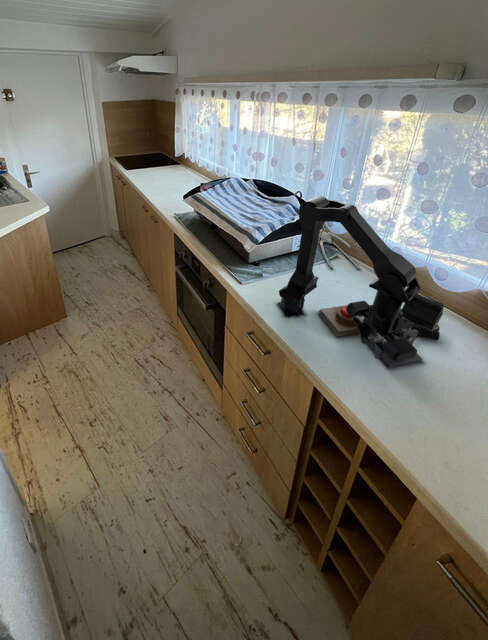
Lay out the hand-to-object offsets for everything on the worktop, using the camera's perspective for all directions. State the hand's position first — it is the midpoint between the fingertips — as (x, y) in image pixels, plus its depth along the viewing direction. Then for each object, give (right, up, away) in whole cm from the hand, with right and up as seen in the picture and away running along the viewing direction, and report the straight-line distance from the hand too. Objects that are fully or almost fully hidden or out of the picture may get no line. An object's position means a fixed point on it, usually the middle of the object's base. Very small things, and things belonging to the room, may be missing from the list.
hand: (370, 350), depth 84 cm
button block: (0, +4, +13) cm, 13 cm away
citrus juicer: (+11, +21, +37) cm, 44 cm away
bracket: (+8, -1, +2) cm, 8 cm away
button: (-1, +8, +11) cm, 13 cm away
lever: (+4, +3, -1) cm, 5 cm away
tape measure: (+21, +2, +8) cm, 22 cm away
